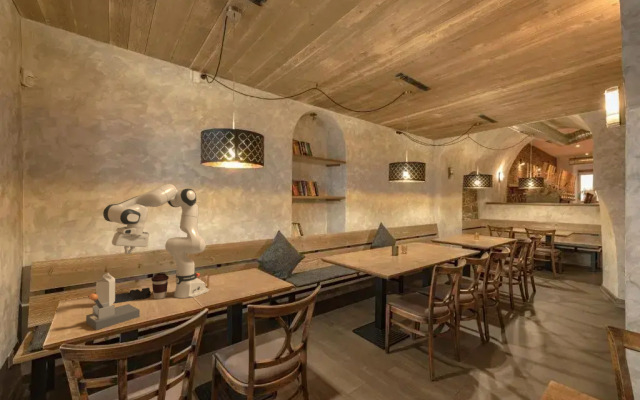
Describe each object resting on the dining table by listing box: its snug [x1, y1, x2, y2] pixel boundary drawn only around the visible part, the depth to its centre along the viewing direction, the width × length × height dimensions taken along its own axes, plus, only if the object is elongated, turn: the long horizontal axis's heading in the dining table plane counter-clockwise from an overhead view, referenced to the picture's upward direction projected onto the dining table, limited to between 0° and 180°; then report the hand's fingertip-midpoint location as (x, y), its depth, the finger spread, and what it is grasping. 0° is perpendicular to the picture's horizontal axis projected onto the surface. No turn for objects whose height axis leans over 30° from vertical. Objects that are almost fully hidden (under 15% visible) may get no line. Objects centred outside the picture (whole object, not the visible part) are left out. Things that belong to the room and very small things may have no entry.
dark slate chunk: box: [112, 287, 152, 305], centre depth 192 cm, size 15×22×5 cm
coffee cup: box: [150, 273, 170, 300], centre depth 193 cm, size 10×10×15 cm
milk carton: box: [95, 272, 116, 306], centre depth 179 cm, size 7×7×19 cm
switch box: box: [85, 302, 141, 331], centre depth 158 cm, size 20×14×9 cm
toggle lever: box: [88, 293, 104, 309], centre depth 152 cm, size 3×3×12 cm
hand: (127, 253), depth 174 cm, fingers closed
